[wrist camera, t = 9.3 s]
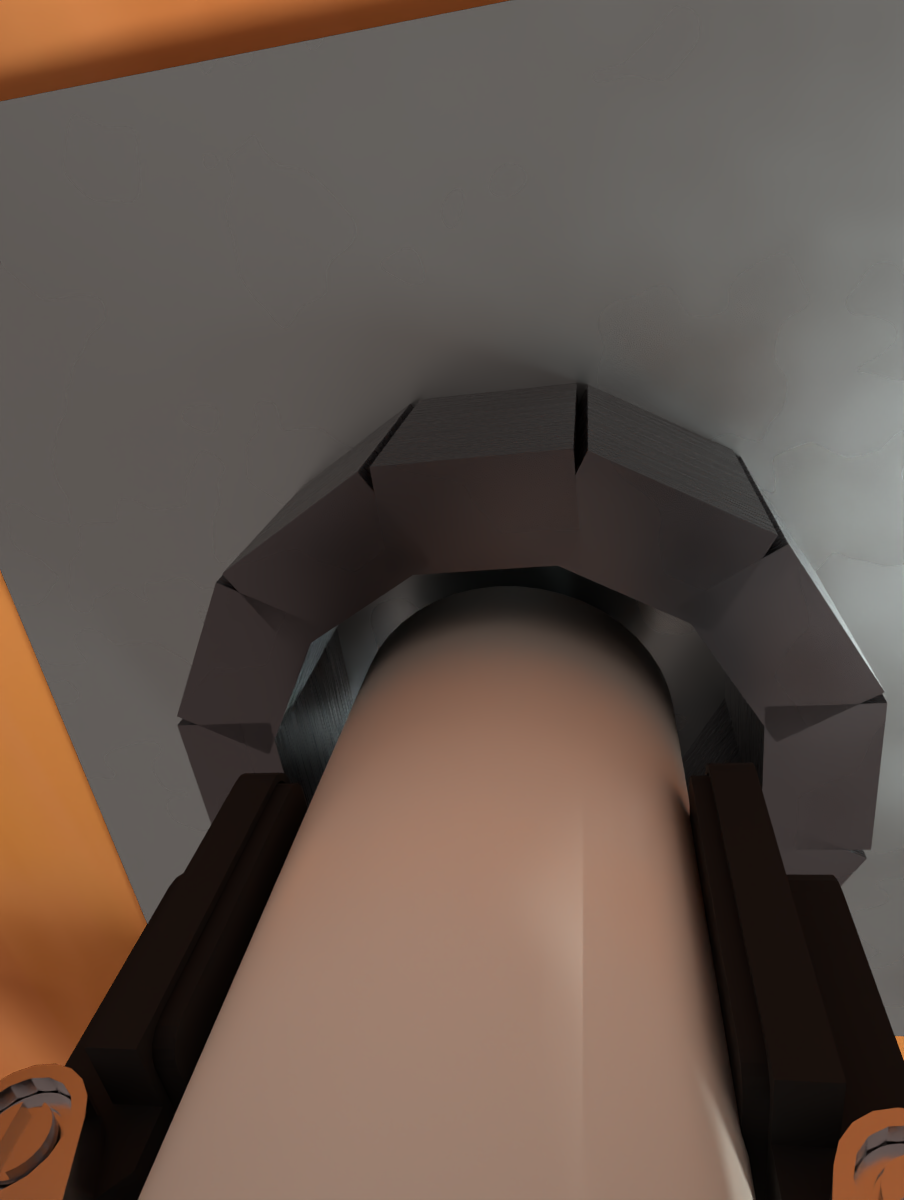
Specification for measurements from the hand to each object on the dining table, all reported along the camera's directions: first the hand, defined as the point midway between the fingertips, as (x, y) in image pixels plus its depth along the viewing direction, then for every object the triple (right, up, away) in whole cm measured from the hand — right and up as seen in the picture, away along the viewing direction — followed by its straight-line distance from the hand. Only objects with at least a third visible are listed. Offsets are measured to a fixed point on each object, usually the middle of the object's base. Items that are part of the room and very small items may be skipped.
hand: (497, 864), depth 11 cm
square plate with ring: (+1, +3, +6) cm, 6 cm away
